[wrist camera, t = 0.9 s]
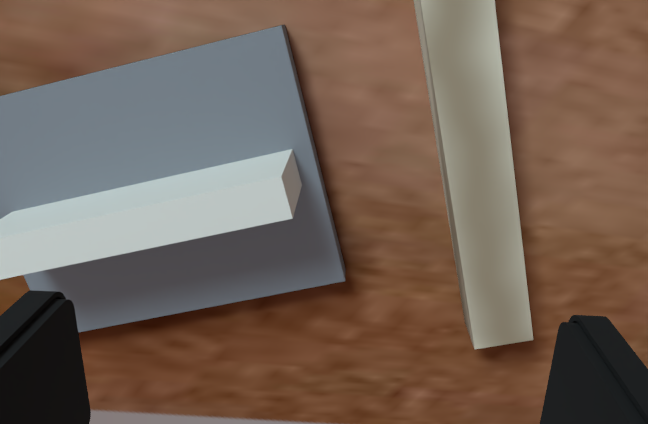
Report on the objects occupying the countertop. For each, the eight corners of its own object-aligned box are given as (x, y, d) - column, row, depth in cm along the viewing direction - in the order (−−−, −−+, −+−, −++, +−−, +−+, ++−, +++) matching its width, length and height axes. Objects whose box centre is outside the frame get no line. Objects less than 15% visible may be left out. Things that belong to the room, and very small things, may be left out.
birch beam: (468, -90, 27) (482, -102, 24) (517, 310, 34) (533, 339, 31) (401, -74, 27) (407, -83, 24) (463, 319, 34) (474, 349, 31)
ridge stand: (284, 24, 29) (266, 30, 23) (345, 269, 33) (344, 328, 27) (-34, 104, 31) (-130, 129, 25) (63, 324, 35) (3, 390, 29)
